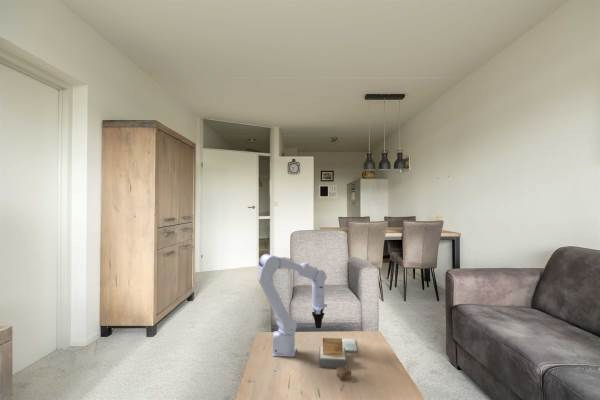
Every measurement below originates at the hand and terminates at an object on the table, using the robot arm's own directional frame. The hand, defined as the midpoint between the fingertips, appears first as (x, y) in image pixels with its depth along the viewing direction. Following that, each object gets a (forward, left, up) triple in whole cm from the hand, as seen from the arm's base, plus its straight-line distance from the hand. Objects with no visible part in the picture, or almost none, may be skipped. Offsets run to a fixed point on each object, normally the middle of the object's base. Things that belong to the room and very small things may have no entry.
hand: (318, 324), depth 139 cm
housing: (+6, -14, -6) cm, 16 cm away
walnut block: (+10, -26, -10) cm, 29 cm away
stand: (+6, -14, -9) cm, 18 cm away
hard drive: (+13, 0, -10) cm, 17 cm away
